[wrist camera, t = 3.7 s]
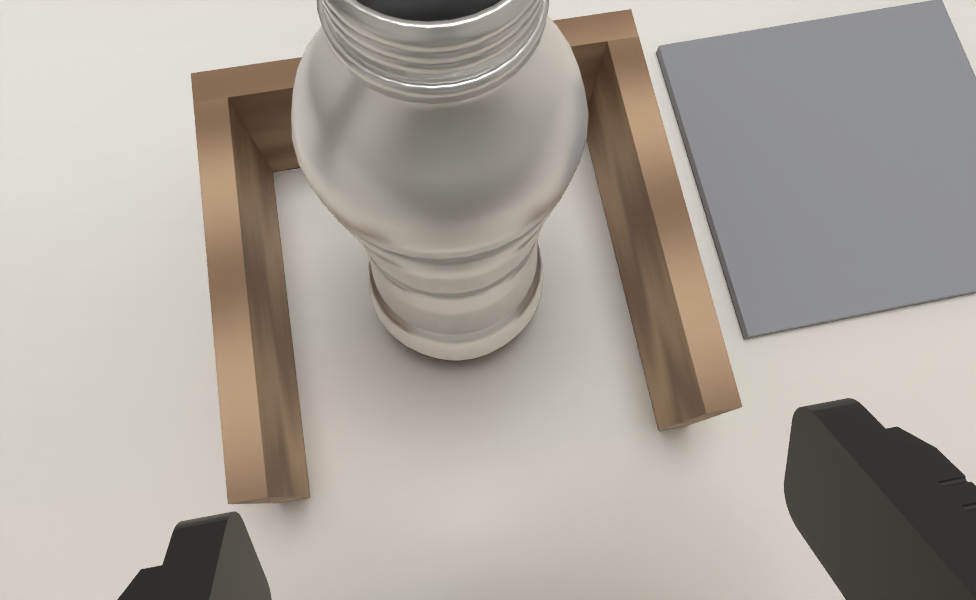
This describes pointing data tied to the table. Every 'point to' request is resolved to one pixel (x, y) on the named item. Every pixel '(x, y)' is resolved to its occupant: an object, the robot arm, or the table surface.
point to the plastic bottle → (442, 156)
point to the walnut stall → (260, 273)
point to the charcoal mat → (833, 162)
